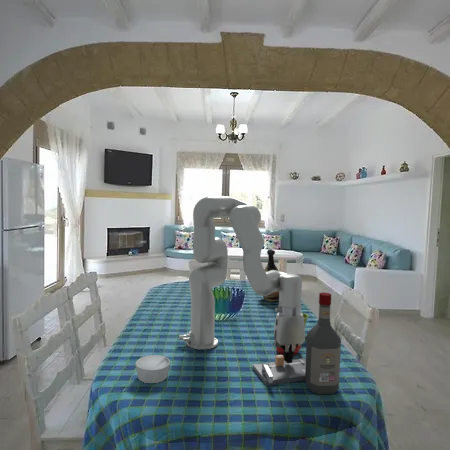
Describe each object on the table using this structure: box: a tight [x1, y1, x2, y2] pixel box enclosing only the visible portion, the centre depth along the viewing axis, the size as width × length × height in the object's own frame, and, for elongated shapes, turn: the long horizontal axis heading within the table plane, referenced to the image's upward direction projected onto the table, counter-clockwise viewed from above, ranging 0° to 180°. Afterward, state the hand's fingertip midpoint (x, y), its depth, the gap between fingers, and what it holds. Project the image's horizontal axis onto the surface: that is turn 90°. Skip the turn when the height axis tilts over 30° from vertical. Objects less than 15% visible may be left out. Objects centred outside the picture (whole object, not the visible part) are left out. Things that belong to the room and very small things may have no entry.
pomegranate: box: [275, 344, 302, 356], centre depth 144 cm, size 10×10×9 cm
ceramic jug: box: [262, 248, 280, 302], centre depth 216 cm, size 17×15×30 cm
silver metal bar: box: [262, 362, 273, 383], centre depth 121 cm, size 9×2×2 cm, turn 6°
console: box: [252, 357, 306, 387], centre depth 127 cm, size 20×12×2 cm, turn 107°
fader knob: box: [274, 354, 285, 366], centre depth 130 cm, size 2×2×3 cm
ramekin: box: [135, 354, 171, 384], centre depth 123 cm, size 11×11×5 cm
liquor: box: [304, 292, 342, 395], centre depth 117 cm, size 9×9×30 cm
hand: (288, 361), depth 131 cm, fingers closed
